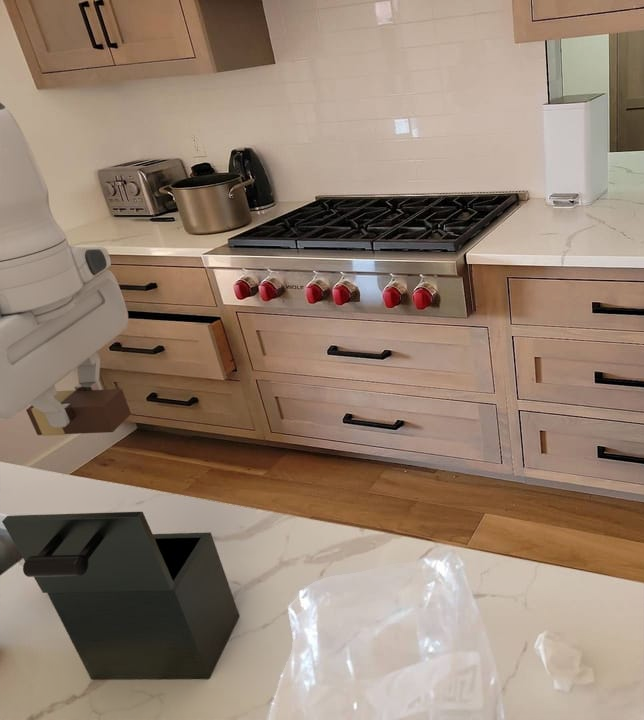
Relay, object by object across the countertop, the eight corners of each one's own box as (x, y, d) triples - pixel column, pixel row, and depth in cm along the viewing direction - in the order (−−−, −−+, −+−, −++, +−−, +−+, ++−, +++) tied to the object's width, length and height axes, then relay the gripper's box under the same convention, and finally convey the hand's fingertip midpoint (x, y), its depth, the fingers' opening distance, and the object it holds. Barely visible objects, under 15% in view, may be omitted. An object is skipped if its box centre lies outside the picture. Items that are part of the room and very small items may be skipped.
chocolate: (132, 414, 70) (122, 387, 68) (112, 433, 67) (102, 406, 65) (59, 417, 71) (48, 391, 69) (37, 436, 67) (24, 409, 66)
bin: (132, 617, 82) (95, 535, 76) (239, 616, 80) (210, 532, 75) (90, 679, 74) (46, 593, 69) (209, 679, 73) (174, 590, 67)
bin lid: (7, 515, 64) (-33, 556, 60) (142, 511, 63) (112, 552, 58) (47, 586, 69) (13, 629, 64) (174, 584, 67) (149, 628, 63)
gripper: (-28, 324, 52) (41, 471, 58) (116, 244, 70) (157, 362, 76) (-103, 329, 53) (-26, 474, 59) (60, 248, 71) (105, 365, 77)
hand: (79, 410), depth 68 cm, fingers closed on chocolate, 3 cm apart
